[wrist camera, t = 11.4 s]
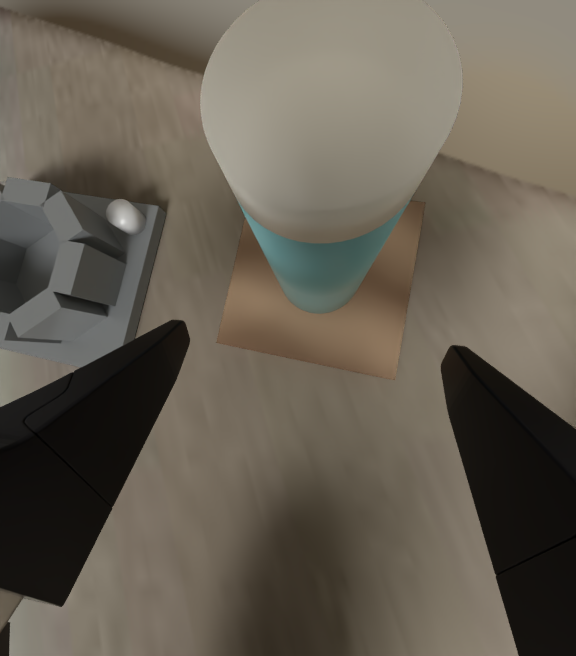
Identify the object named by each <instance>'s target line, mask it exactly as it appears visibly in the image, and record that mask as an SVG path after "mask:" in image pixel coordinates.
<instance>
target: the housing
mask: <svg viewBox="0 0 576 656" xmlns="http://www.w3.org/2000/svg"><path fill="white" fill-rule="evenodd" d="M165 217H166V213H165V212H164V211H163V210H162V209H161V208H160V207H159V206H155V205H149V204H142V203H135V202H129V201H127V200H124V199H117V200H115V199H109V198H102V197H95V196H89V195H82V194H75V193H69V192H63V191H62V190H60V189H59V188H57V187H55V186H54V185H52V184H51V183H45V182H38V181H32V180H25V179H18V178H11V177H7V180H6V182H5V181H2V182H0V348H1V349H5V350H10V351H14V352H18V353H22V354H26V355H31V356H35V357H39V358H43V359H48V360H52V361H56V362H60V363H64V364H69V365H73V366H77V367H83V366H85V365H87V364H89V363H91V362H93V361H94V360H96V359H98V358H100V357H102V356H104V355H106V354H108V353H110V352H112V351H113V350H115V349H117V348H119V347H121V346H123V345H125V344H127V343H129V342H131V341H132V340H134V339H135V335H136V331H137V327H138V323H139V319H140V315H141V311H142V307H143V303H144V299H145V295H146V291H147V288H148V284H149V280H150V276H151V272H152V268H153V264H154V260H155V256H156V252H157V248H158V244H159V240H160V236H161V233H162V229H163V225H164V221H165Z"/></svg>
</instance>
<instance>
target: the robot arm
mask: <svg viewBox="0 0 576 656" xmlns="http://www.w3.org/2000/svg"><path fill="white" fill-rule="evenodd" d="M189 344H190V337H189V334H188V330H187V327H186V324H185V322H184V321H182V320H171V321H169V322H167V323H165V324H163V325H161V326H159V327H157V328H155V329H153V330H152V331H150V332H148V333H146V334H144V335H142V336H140V337H138V338H136V339H134V340H132V341H131V342H129V343H127V344H125V345H123V346H121V347H119V348H117V349H115V350H113V351H112V352H110V353H108V354H106V355H104V356H102V357H100V358H98V359H96V360H94V361H93V362H91V363H89V364H87V365H85V366H83V367H81V368H79V369H77V370H75V371H74V373H73V372H72V373H70V374H68V375H66V376H64V377H62V378H60V379H58V380H56V381H54V382H52V383H50V384H48V385H46V386H44V387H42V388H40V389H38V390H36V391H34V392H32V393H30V394H28V395H26V396H24V397H21V398H19V399H17V400H15V401H13V402H11V403H8V404H6V405H4V406H2V407H0V656H9V637H10V622H8V621H9V619H10V617H11V616H12V614H13V613H14V611H15V610H16V608H17V607H18V605H19V604H20V602H21V600H22V599H23V598H24V599H28V600H33V601H37V602H41V603H46V604H50V605H55V606H59V607H62V606H63V605H64V603H65V601H66V600H67V598H68V596H69V594H70V592H71V590H72V588H73V586H74V584H75V582H76V580H77V578H78V576H79V574H80V572H81V570H82V568H83V566H84V564H85V562H86V560H87V558H88V556H89V554H90V552H91V550H92V548H93V546H94V544H95V542H96V540H97V538H98V536H99V534H100V532H101V530H102V528H103V526H104V524H105V522H106V520H107V518H108V516H109V514H110V512H111V510H112V507H113V506H114V504H115V502H116V500H117V498H118V496H119V494H120V492H121V490H122V488H123V486H124V484H125V482H126V480H127V478H128V476H129V474H130V472H131V470H132V468H133V466H134V464H135V462H136V460H137V458H138V456H139V454H140V452H141V450H142V448H143V446H144V444H145V442H146V440H147V438H148V436H149V434H150V432H151V430H152V428H153V426H154V424H155V422H156V420H157V418H158V416H159V414H160V412H161V410H162V408H163V406H164V404H165V402H166V400H167V398H168V396H169V394H170V392H171V390H172V388H173V386H174V384H175V381H176V379H177V377H178V374H179V371H180V369H181V366H182V363H183V360H184V358H185V355H186V352H187V349H188V347H189ZM441 374H442V380H443V386H444V393H445V399H446V405H447V410H448V414H449V418H450V422H451V425H452V428H453V432H454V435H455V439H456V442H457V445H458V449H459V452H460V456H461V459H462V463H463V466H464V469H465V473H466V476H467V480H468V483H469V486H470V490H471V493H472V497H473V500H474V504H475V507H476V510H477V514H478V517H479V521H480V524H481V527H482V531H483V534H484V538H485V541H486V545H487V548H488V551H489V555H490V558H491V562H492V565H493V568H494V572H495V574H496V579H497V583H498V586H499V590H500V593H501V597H502V600H503V603H504V607H505V610H506V614H507V617H508V620H509V624H510V627H511V631H512V634H513V638H514V641H515V644H516V648H517V651H518V655H519V656H576V429H575V428H574V427H572V426H571V425H570V424H568V423H567V422H566V421H564V420H563V419H562V418H560V417H559V416H558V415H556V414H555V413H554V412H552V411H551V410H550V409H548V408H547V407H546V406H544V405H543V404H542V403H540V402H539V401H538V400H536V399H535V398H534V397H532V396H531V395H530V394H528V393H527V392H526V391H524V390H523V389H522V388H520V387H519V386H518V385H516V384H515V383H514V382H512V381H511V380H510V379H508V378H507V377H506V376H504V375H503V374H502V373H501V372H499V371H498V370H497V369H495V368H494V367H493V366H491V365H490V364H489V363H487V362H486V361H485V360H483V359H482V358H481V357H479V356H478V355H477V354H475V353H474V352H473V351H471V350H470V349H469V348H467V347H465V346H458V345H452V346H450V347H449V349H448V351H447V353H446V355H445V357H444V359H443V361H442V363H441Z"/></svg>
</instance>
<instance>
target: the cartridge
mask: <svg viewBox="0 0 576 656" xmlns="http://www.w3.org/2000/svg"><path fill="white" fill-rule="evenodd" d="M462 88H463V75H462V66H461V60H460V55H459V52H458V49H457V46H456V43H455V41H454V39H453V37H452V35H451V33H450V31H449V29H448V27H447V26H446V24H445V23H444V22H443V21H442V19H441V18H440V16H439V15H438V14H437V13H436V12H435V11H434V10H433V9H432V8H431V7H430V6H429V5H428V4H427V3H425V2H424V1H423V0H259V1H258V2H256V3H255V4H254V5H252V6H251V7H250V8H249V9H247V10H246V11H245V12H244V13H243V14H242V15H241V16H240V17H238V18H237V19H236V20H235V21H234V23H233V24H232V25H231V26H230V27H229V28H228V30H227V31H226V32H225V33H224V35H223V36H222V38H221V39H220V41H219V42H218V44H217V45H216V47H215V49H214V51H213V53H212V55H211V57H210V59H209V62H208V65H207V68H206V70H205V73H204V78H203V82H202V87H201V98H200V107H201V119H202V124H203V129H204V132H205V135H206V138H207V141H208V144H209V146H210V148H211V150H212V152H213V154H214V156H215V158H216V160H217V162H218V164H219V166H220V168H221V170H222V171H223V173H224V175H225V177H226V179H227V181H228V183H229V185H230V187H231V189H232V191H233V193H234V195H235V197H236V199H237V201H238V203H239V205H240V207H241V209H242V211H243V213H244V215H245V217H246V219H247V221H248V223H249V225H250V227H251V229H252V231H253V233H254V235H255V237H256V239H257V241H258V243H259V245H260V247H261V249H262V251H263V253H264V255H265V257H266V259H267V260H268V262H269V264H270V266H271V268H272V270H273V272H274V274H275V276H276V278H277V280H278V282H279V284H280V286H281V288H282V290H283V292H284V294H285V296H286V297H287V298H288V300H289V301H290V302H291V303H292V304H293V305H295V306H296V307H298V308H299V309H301V310H303V311H306V312H309V313H315V314H322V313H329V312H332V311H335V310H337V309H339V308H341V307H343V306H344V305H345V304H347V303H348V302H349V301H350V300H351V298H352V297H353V296H354V294H355V293H356V291H357V289H358V288H359V286H360V284H361V283H362V281H363V279H364V277H365V276H366V274H367V272H368V271H369V269H370V267H371V266H372V264H373V262H374V261H375V259H376V257H377V256H378V254H379V252H380V251H381V249H382V247H383V245H384V244H385V242H386V240H387V239H388V237H389V235H390V234H391V232H392V230H393V229H394V227H395V225H396V224H397V222H398V220H399V218H400V217H401V215H402V213H403V212H404V210H405V208H406V207H407V205H408V203H409V202H410V200H411V198H412V197H413V195H414V193H415V191H416V190H417V188H418V186H419V185H420V183H421V181H422V180H423V178H424V176H425V175H426V173H427V171H428V170H429V168H430V166H431V165H432V163H433V161H434V159H435V158H436V156H437V154H438V153H439V151H440V149H441V148H442V146H443V144H444V143H445V141H446V139H447V138H448V136H449V134H450V132H451V129H452V127H453V125H454V123H455V120H456V117H457V114H458V111H459V107H460V104H461V97H462V96H461V95H462Z"/></svg>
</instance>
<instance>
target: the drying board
mask: <svg viewBox="0 0 576 656" xmlns="http://www.w3.org/2000/svg"><path fill="white" fill-rule="evenodd" d="M424 208H425V202H417V201H410V202H409V203H408V205H407V207H406V208H405V210H404V212H403V213H402V215H401V217H400V218H399V220H398V222H397V224H396V225H395V227H394V229H393V230H392V232H391V234H390V235H389V237H388V239H387V240H386V242H385V244H384V245H383V247H382V249H381V251H380V252H379V254H378V256H377V257H376V259H375V261H374V262H373V264H372V266H371V267H370V269H369V271H368V272H367V274H366V276H365V277H364V279H363V281H362V283H361V284H360V286H359V288H358V289H357V291H356V293H355V294H354V296H353V297H352V298H351V300H350V301H349V302H348V303H347V304H345V305H344V306H343V307H341V308H339V309H337V310H335V311H332V312H329V313H322V314H315V313H309V312H306V311H303V310H301V309H299V308H298V307H296V306H295V305H293V304H292V303H291V302H290V301H289V300H288V298H287V297H286V296H285V294H284V292H283V290H282V288H281V286H280V284H279V282H278V280H277V278H276V276H275V274H274V272H273V270H272V268H271V266H270V264H269V262H268V260H267V259H266V257H265V255H264V253H263V251H262V249H261V247H260V245H259V243H258V241H257V239H256V237H255V235H254V233H253V231H252V229H251V227H250V225H249V223H248V221H247V219H246V217H245V220H244V224H243V228H242V233H241V237H240V241H239V246H238V250H237V255H236V259H235V263H234V268H233V272H232V276H231V281H230V285H229V290H228V294H227V298H226V303H225V307H224V311H223V316H222V320H221V324H220V329H219V333H218V338H217V342H216V343H220V344H224V345H229V346H234V347H239V348H243V349H248V350H253V351H258V352H263V353H267V354H272V355H277V356H282V357H286V358H291V359H296V360H301V361H305V362H310V363H315V364H320V365H324V366H329V367H334V368H339V369H343V370H348V371H353V372H358V373H362V374H367V375H372V376H377V377H382V378H386V379H391V380H395V377H396V371H397V366H398V360H399V354H400V348H401V342H402V336H403V331H404V325H405V319H406V313H407V307H408V301H409V296H410V290H411V284H412V278H413V272H414V266H415V260H416V255H417V249H418V243H419V237H420V231H421V225H422V220H423V214H424Z"/></svg>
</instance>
